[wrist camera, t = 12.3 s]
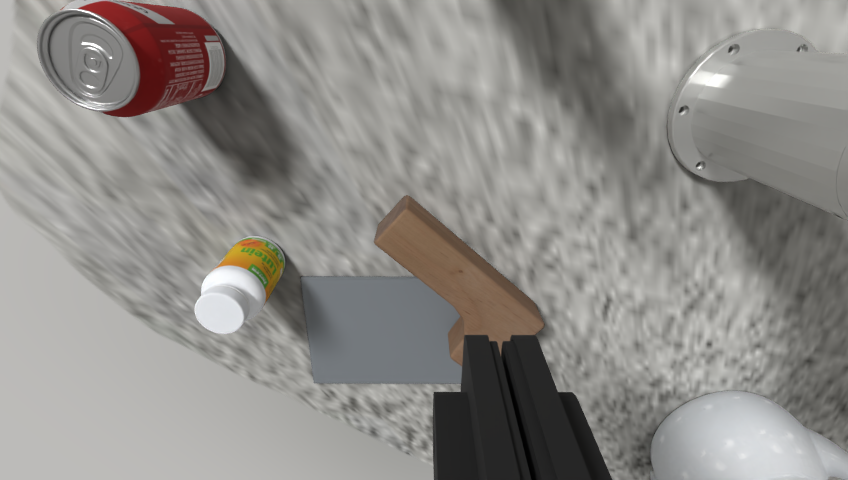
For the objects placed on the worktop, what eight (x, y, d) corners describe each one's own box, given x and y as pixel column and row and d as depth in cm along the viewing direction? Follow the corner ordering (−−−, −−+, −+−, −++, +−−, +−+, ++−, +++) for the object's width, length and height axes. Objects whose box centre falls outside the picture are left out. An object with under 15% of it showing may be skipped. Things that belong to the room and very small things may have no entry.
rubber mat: (504, 277, 45) (505, 279, 45) (494, 381, 51) (494, 383, 51) (301, 276, 45) (300, 278, 45) (314, 380, 51) (313, 383, 51)
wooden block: (481, 383, 44) (340, 277, 40) (475, 355, 48) (347, 257, 44) (547, 326, 42) (405, 207, 37) (535, 302, 46) (406, 192, 41)
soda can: (241, 37, 35) (162, 37, 25) (215, 111, 38) (132, 142, 27) (158, -10, 34) (35, -31, 23) (136, 70, 36) (16, 86, 26)
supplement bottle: (296, 252, 44) (264, 307, 35) (271, 290, 46) (235, 351, 37) (246, 224, 42) (201, 273, 34) (223, 264, 44) (174, 321, 36)
